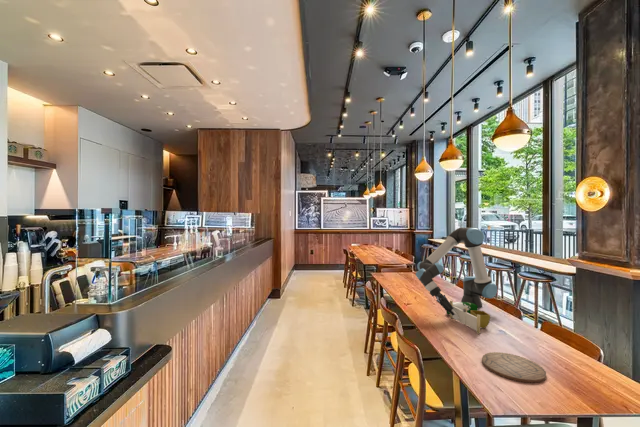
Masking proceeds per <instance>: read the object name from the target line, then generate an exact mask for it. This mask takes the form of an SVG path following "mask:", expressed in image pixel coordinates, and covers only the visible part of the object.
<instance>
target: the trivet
mask: <svg viewBox="0 0 640 427" xmlns="http://www.w3.org/2000/svg"><path fill="white" fill-rule="evenodd" d="M481 363H482V365H483V366H484V367H485V369H487V371H490V372H491V373H492V374H495V375H497V376H498V377H501V378H504V379H505V380H510V381H513V382H518V383H524V384H541V383H543V382H545V381H546V379H547V371H546V370H545V368H543V366H541V365H540V364H539V363H537V362H534V361H533V360H531V359H529V358H526V357H523V356H520V355H516V354H513V353H507V352H496V351H494V352H493V351H492V352H487V353H485V354H483V355H482V357H481Z"/></svg>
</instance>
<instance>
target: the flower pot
mask: <svg viewBox="0 0 640 427" xmlns="http://www.w3.org/2000/svg"><path fill="white" fill-rule="evenodd" d="M470 311H471V315H473V316H475V317H477V315H480V329H486V328H487V327H488V325H489V323H490V319H491V315H490V314H489V313H487V312H486V311H484V310H478V311H473V310H470Z"/></svg>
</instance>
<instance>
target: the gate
mask: <svg viewBox="0 0 640 427" xmlns="http://www.w3.org/2000/svg"><path fill="white" fill-rule="evenodd" d="M453 310H454V311H455V312H456V314H457V315H458V316H459V317H460V318H459V319H457V320H456V321H457V322H459V323H461V324H463V325H464V324H465V325H464V326H467V325H466V313H467V312H466V309H463V310H461V309H459V308H457V307H455V306H453ZM453 319H454V317H453Z"/></svg>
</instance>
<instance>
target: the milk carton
mask: <svg viewBox="0 0 640 427" xmlns="http://www.w3.org/2000/svg"><path fill="white" fill-rule="evenodd" d="M453 306H455V307H457V308H459V309H461V310H463V309H464V308H467V313H469V314H471V311H470V310H473V311H479V310H478V309H479V308H477V305H476V304H473V303H468V302H461V301H456V302H454V301H453ZM445 312H446V314H447V315H448V316H450V312H447V311H446V310H445Z"/></svg>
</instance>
